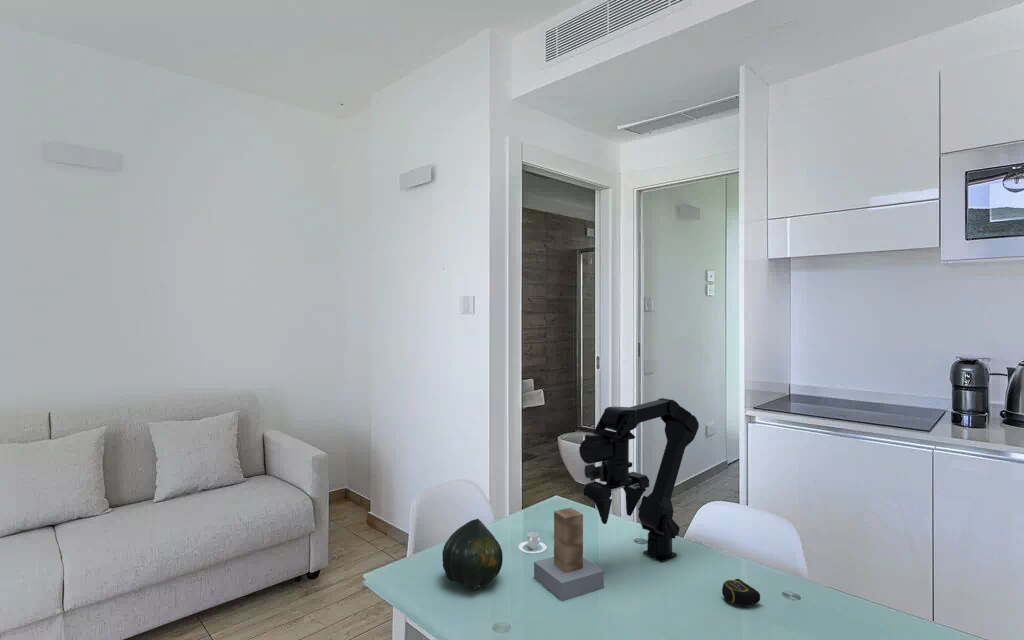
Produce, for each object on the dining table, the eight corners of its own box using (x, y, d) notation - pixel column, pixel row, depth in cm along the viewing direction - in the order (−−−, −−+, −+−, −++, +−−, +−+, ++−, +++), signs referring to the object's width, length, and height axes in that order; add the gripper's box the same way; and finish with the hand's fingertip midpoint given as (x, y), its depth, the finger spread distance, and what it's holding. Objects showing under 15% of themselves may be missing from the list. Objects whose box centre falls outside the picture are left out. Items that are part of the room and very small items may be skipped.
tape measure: (762, 607, 118) (762, 590, 118) (736, 612, 116) (736, 595, 116) (740, 592, 125) (740, 576, 125) (715, 596, 123) (715, 580, 123)
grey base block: (573, 566, 137) (573, 551, 137) (603, 587, 126) (603, 570, 126) (534, 578, 131) (534, 561, 131) (561, 600, 120) (561, 583, 120)
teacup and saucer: (530, 539, 155) (530, 525, 155) (553, 546, 150) (553, 531, 150) (512, 550, 147) (512, 535, 147) (536, 557, 143) (536, 542, 143)
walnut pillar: (571, 559, 132) (571, 507, 132) (582, 568, 127) (582, 514, 127) (554, 564, 130) (554, 511, 129) (565, 573, 125) (565, 517, 125)
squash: (444, 581, 118) (484, 522, 123) (423, 556, 132) (460, 504, 137) (488, 612, 123) (524, 554, 128) (463, 585, 136) (497, 534, 141)
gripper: (617, 446, 146) (617, 502, 147) (568, 456, 135) (567, 518, 135) (650, 454, 138) (650, 514, 138) (600, 466, 126) (600, 532, 126)
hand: (616, 519), depth 135 cm, fingers open, 9 cm apart
